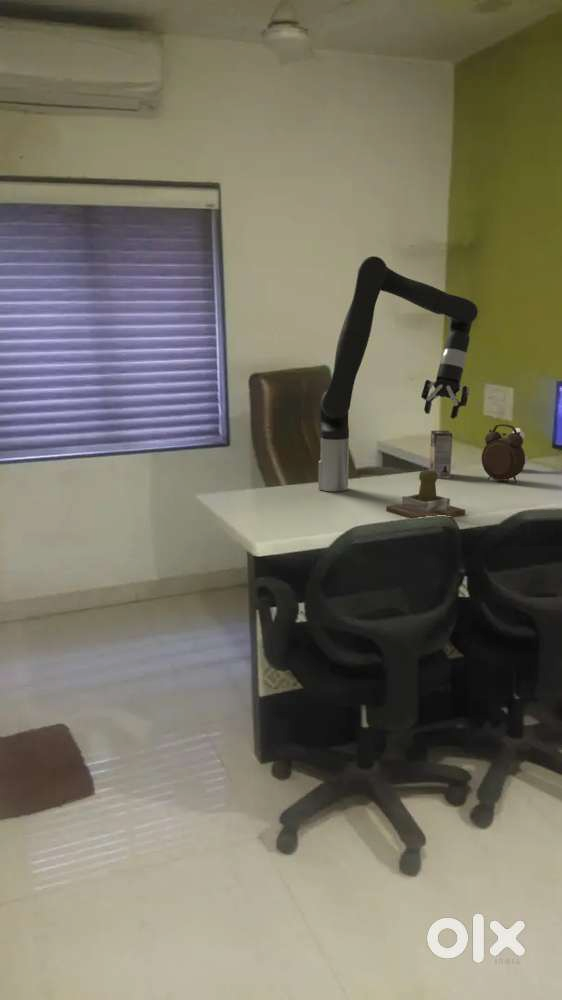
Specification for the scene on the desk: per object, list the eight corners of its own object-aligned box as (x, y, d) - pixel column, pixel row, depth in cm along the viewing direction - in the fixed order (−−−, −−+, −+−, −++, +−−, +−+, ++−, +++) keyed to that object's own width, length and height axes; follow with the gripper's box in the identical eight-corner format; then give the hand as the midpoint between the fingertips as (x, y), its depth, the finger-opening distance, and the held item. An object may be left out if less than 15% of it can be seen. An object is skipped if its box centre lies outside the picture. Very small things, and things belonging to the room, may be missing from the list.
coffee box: (428, 473, 281) (430, 430, 278) (446, 473, 281) (448, 430, 278) (433, 478, 272) (435, 433, 269) (451, 478, 272) (453, 433, 269)
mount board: (424, 522, 211) (425, 506, 210) (386, 511, 224) (386, 496, 223) (465, 514, 220) (465, 499, 219) (425, 504, 233) (426, 489, 232)
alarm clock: (526, 483, 264) (530, 425, 259) (514, 486, 259) (518, 427, 255) (490, 477, 275) (494, 421, 270) (478, 479, 270) (481, 423, 266)
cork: (439, 506, 223) (441, 469, 221) (434, 511, 218) (436, 473, 215) (419, 504, 226) (420, 468, 223) (414, 508, 220) (415, 471, 218)
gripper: (426, 359, 240) (414, 410, 241) (470, 366, 233) (457, 418, 234) (434, 364, 246) (422, 413, 248) (477, 370, 239) (464, 421, 240)
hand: (439, 415), depth 241 cm, fingers open, 8 cm apart
